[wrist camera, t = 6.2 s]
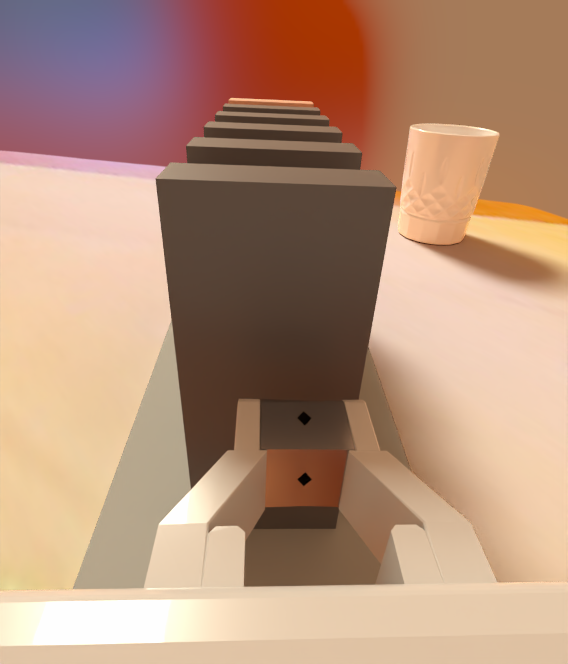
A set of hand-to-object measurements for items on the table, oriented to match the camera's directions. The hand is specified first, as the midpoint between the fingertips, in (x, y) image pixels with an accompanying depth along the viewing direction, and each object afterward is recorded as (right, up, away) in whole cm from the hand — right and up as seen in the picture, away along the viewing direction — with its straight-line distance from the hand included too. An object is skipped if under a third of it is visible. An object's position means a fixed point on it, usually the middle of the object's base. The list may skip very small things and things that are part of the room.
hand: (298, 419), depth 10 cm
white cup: (+15, +12, +35) cm, 40 cm away
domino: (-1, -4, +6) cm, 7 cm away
